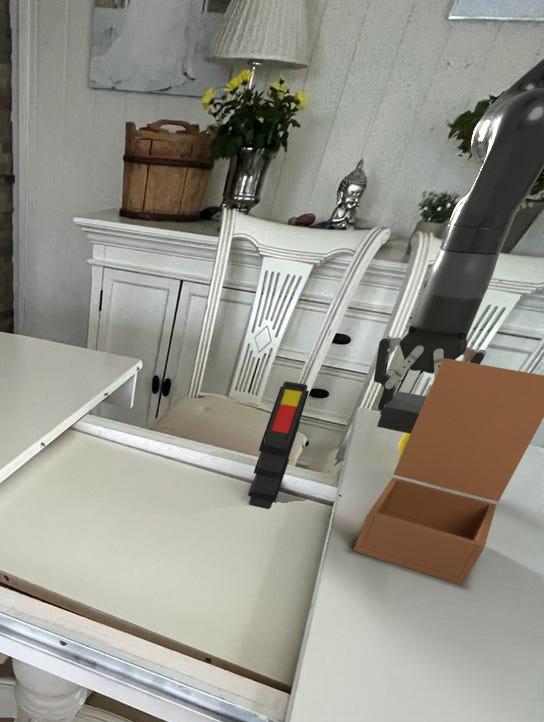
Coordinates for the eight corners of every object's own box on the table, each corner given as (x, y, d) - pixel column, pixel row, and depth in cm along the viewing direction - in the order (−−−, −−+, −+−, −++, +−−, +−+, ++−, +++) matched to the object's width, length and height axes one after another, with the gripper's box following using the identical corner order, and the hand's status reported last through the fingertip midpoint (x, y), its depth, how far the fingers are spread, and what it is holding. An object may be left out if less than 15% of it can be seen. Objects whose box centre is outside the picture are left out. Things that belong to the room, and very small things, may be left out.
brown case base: (462, 585, 69) (484, 546, 66) (352, 550, 74) (368, 512, 71) (476, 540, 78) (496, 504, 74) (377, 512, 83) (392, 476, 80)
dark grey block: (427, 417, 92) (435, 397, 91) (415, 435, 86) (424, 414, 84) (390, 410, 95) (397, 391, 93) (376, 426, 88) (384, 406, 86)
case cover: (564, 378, 66) (560, 377, 71) (443, 358, 72) (446, 358, 76) (498, 501, 74) (498, 494, 78) (393, 474, 79) (398, 468, 83)
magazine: (288, 464, 91) (311, 383, 78) (267, 530, 86) (288, 455, 73) (263, 459, 92) (282, 379, 79) (241, 524, 87) (257, 450, 74)
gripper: (516, 294, 79) (459, 421, 89) (402, 282, 85) (361, 402, 95) (512, 301, 74) (452, 435, 84) (391, 287, 80) (349, 413, 91)
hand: (404, 417), depth 90 cm, fingers closed on dark grey block, 5 cm apart
